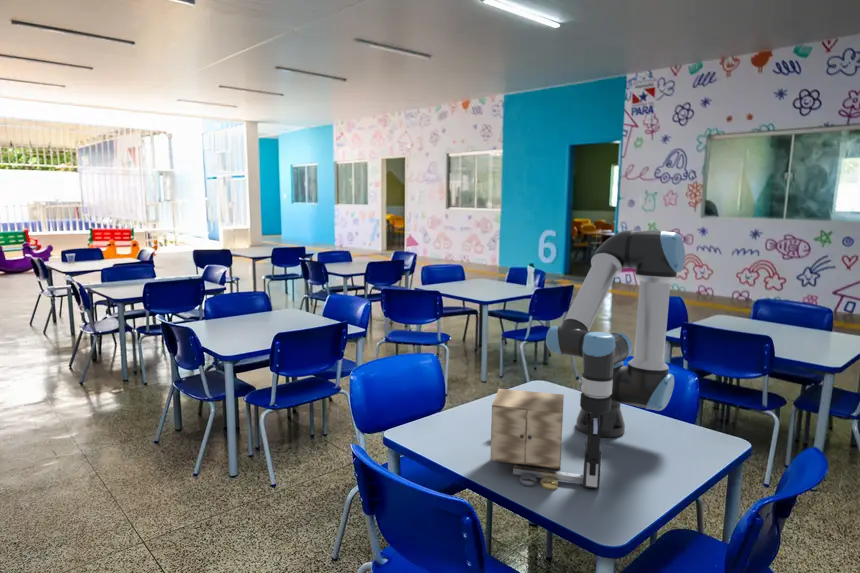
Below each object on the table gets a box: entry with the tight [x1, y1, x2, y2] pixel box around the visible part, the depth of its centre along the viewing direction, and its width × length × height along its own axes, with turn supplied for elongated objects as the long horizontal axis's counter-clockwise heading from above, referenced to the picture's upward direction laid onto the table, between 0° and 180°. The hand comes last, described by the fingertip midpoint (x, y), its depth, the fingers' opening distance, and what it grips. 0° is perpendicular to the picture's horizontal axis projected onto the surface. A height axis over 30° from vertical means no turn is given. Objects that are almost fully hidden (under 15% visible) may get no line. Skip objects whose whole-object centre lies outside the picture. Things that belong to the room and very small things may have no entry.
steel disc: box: [519, 475, 538, 488], centre depth 146 cm, size 4×4×1 cm
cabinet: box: [490, 388, 565, 470], centre depth 151 cm, size 18×15×20 cm
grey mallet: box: [512, 441, 603, 490], centre depth 146 cm, size 22×5×10 cm, turn 75°
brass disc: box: [540, 478, 559, 491], centre depth 144 cm, size 4×4×1 cm
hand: (591, 480), depth 144 cm, fingers closed on grey mallet, 5 cm apart
